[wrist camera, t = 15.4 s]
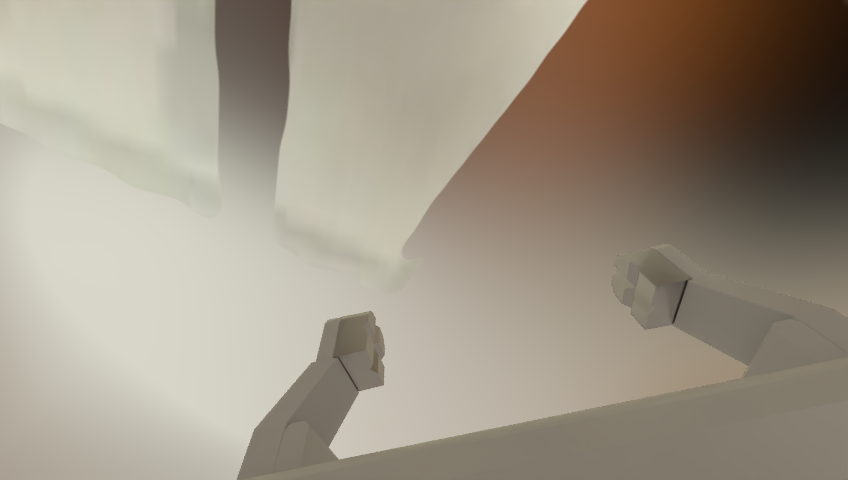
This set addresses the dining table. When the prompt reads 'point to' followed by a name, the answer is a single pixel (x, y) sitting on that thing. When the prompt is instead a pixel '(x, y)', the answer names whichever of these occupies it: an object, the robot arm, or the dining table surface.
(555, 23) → the dining table surface
